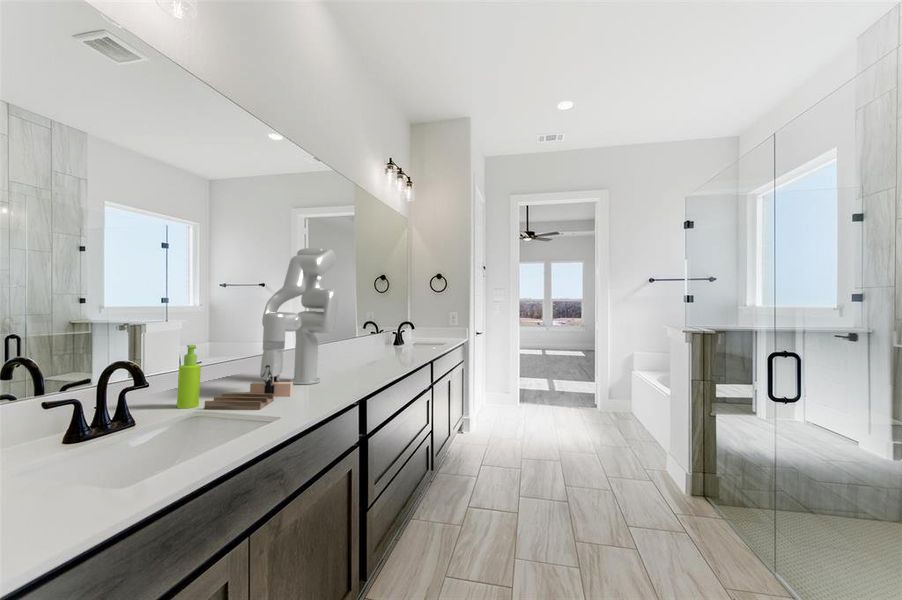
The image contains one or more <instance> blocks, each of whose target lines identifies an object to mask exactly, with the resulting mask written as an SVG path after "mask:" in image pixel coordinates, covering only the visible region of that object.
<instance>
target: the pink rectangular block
mask: <svg viewBox="0 0 902 600" xmlns="http://www.w3.org/2000/svg"><path fill="white" fill-rule="evenodd" d="M264 384H265V381H253V382H251V383H250V385H249V393H257V394H264V391H265V385H264ZM273 385H274V398H278V397H279V398H281V397H282V398H283V397H284V398H288V397H290V398H291V397H292V396H293V386H294V384H293V382H290V381H279V382H274V383H273Z"/></svg>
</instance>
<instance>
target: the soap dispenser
mask: <svg viewBox="0 0 902 600" xmlns="http://www.w3.org/2000/svg"><path fill="white" fill-rule="evenodd" d="M186 347H187V354H185V355H183V357H184V358H183V365H179V366H178V376H177V377H178V380H177V398H176V399H177V400H176V408H177V409H180V410H181V409H183V410H184V409H192V408H193V409H194V408H196V407H197V408H198V407H199V405H200V390H201V389H200V386H201V372H202V371H201V370H202V369H201V367H202V366H201V365H200V364H197V361H198V360H197V357H198V355H197V354H195V350H196V349H197V345H196V344H186Z"/></svg>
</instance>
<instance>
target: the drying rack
mask: <svg viewBox="0 0 902 600" xmlns="http://www.w3.org/2000/svg"><path fill="white" fill-rule="evenodd" d="M274 398H275V397H274V394H257V393H250V392H248V393H247V392H246V393H243V392H241V393H239V392H222V393H221V396H214V397H213V399H212V400H204V406H203V407H204V410H251V411H253V410H262V409H263V408H265V407H266V406H268V405H269V404H271V403H273V402H274Z"/></svg>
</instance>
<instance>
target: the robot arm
mask: <svg viewBox="0 0 902 600" xmlns="http://www.w3.org/2000/svg"><path fill="white" fill-rule="evenodd" d="M336 256H337V255H336V253H335V251H334V250H333V249H331V248H318V247H317V248H315V247H313V248H311V247H309V248H300V249H299V250H298V251H297V252H296V255H294V256H292V257H291V259H290V260H289V264H288V267H287V271H286V275H285V279H284V282H283V285H282V287H281V288H280V289H278V291H276V292H275V293H273V294H272V296H271V297H269V299H268V300H267V303H266V305H265V307H264V311H263V314H262V319H261V320H262V322H261V323H262V324H261V325H262V326H263V330H262V331H263V333H262V335H263V336H262V351H263V352H262V356H261V362H260V363H261V365H260V371H259V372H260V377H261V378H263V382H265V384H264V385H265V391H264V394H274V385H273V383H274V382H280V375H281V374H282V373H283V365H284V364H283V363H284V361H283V360H284V358H283V356H284V355H283V353H284V352H283V351H284V350H285V348H286V347H285V346H286V345H285V344H286V332H289V333H292V332H295V348H294V349H295V350H294V369H293V370H294V372H293V378H291V379H290V380H289V382H293V385H314V384H317V383H321V378H319V377H318V358H319V355H318V354H319V341H318V339H317V337H316V335H315V334H330V333H332V332H333V331H334V329H335V325H336V318H337V313H338V312H337V310H338V303H339V302H338V300H339V299H338V298H339V297H338V293H337V291H336V290H335V289H334V288H329V287H328V288H327V287H326V288H325V287H324V276H323V275H324V274H326V273H327V272H329V270H331V269H332V268H333V267H334V266H335V264H336V262H337V257H336ZM300 296H301V298H300V303H301V305H302V307H303V308H305V309H311V310H304V311H299V312H298V313H295V312H288V311H286V312H284V311H278V310H279V309H280V308H281V306H282V305H283V304H285V303H286V302H288V301H291V300H293V299H295V298H297V297H300ZM312 310H313V311H312ZM317 310H323V311H317Z"/></svg>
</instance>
